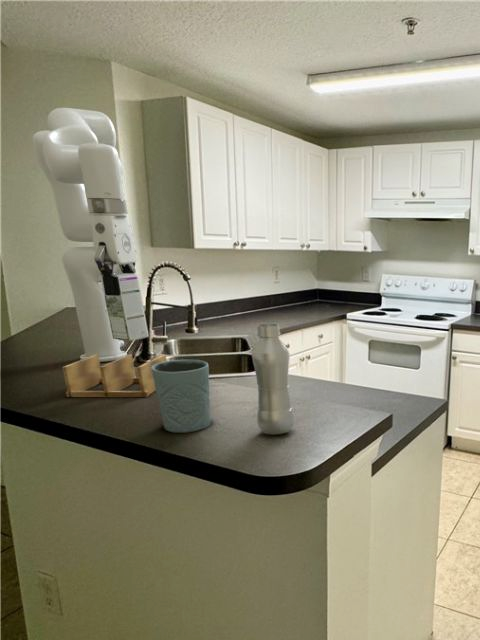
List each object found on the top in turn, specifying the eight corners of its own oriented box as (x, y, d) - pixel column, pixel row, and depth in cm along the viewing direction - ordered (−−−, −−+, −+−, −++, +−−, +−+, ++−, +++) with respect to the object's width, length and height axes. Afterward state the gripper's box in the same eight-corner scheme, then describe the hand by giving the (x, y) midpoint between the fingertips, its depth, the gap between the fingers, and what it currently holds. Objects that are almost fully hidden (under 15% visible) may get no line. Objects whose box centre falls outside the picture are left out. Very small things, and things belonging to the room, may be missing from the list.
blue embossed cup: (185, 415, 112) (177, 357, 108) (226, 420, 109) (219, 361, 105) (148, 430, 103) (138, 368, 99) (192, 437, 100) (183, 373, 96)
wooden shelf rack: (98, 381, 138) (93, 354, 135) (171, 381, 138) (167, 354, 135) (66, 397, 125) (60, 367, 122) (147, 397, 125) (142, 367, 122)
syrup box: (150, 337, 129) (139, 273, 124) (129, 341, 124) (116, 274, 118) (132, 335, 131) (121, 272, 126) (111, 339, 126) (98, 274, 121)
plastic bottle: (261, 427, 105) (251, 322, 98) (296, 426, 105) (289, 322, 98) (255, 439, 99) (244, 328, 92) (293, 438, 99) (285, 327, 92)
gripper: (105, 207, 109) (120, 298, 115) (143, 210, 125) (154, 289, 132) (67, 207, 109) (85, 297, 115) (110, 210, 125) (123, 289, 132)
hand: (122, 292), depth 124 cm, fingers closed on syrup box, 7 cm apart
